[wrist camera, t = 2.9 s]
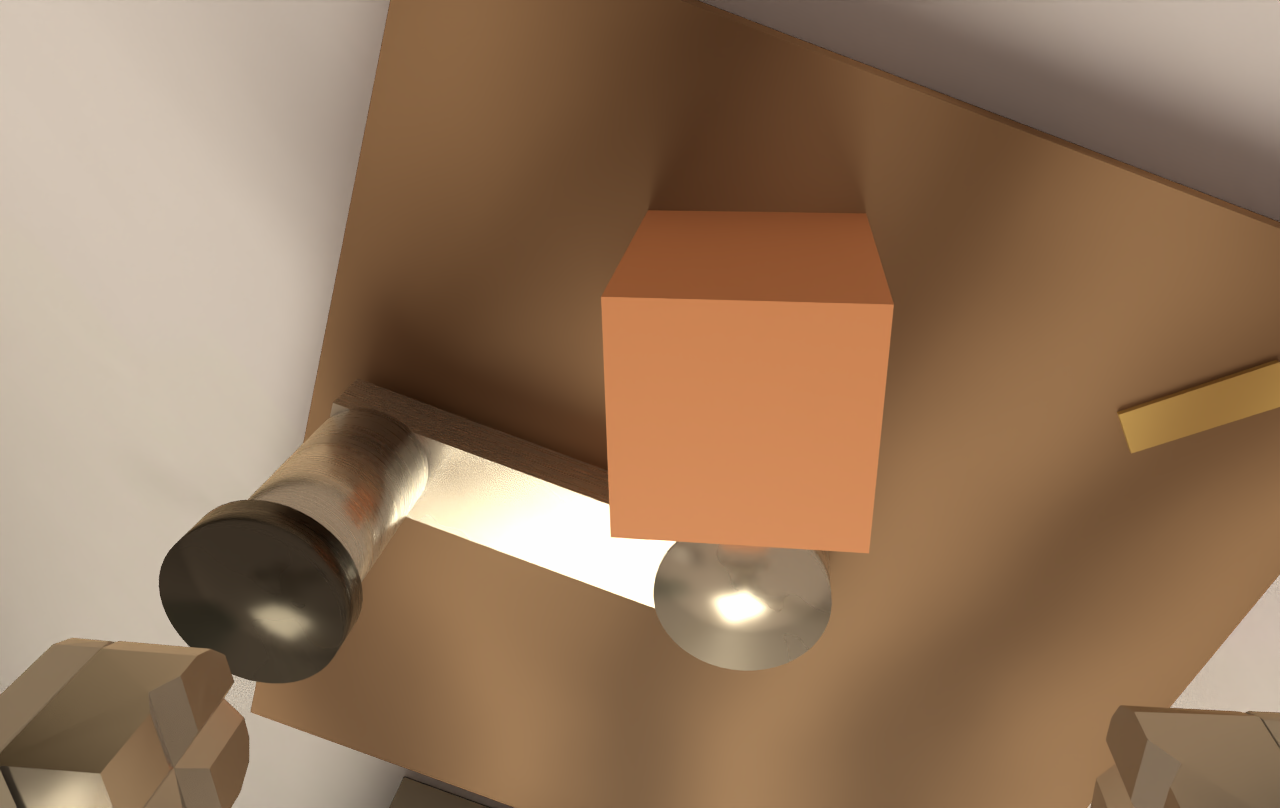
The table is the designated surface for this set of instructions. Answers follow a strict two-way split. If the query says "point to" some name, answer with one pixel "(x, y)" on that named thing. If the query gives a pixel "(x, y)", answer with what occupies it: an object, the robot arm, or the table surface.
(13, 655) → the table surface
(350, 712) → the plate
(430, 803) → the tray
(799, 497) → the orange block
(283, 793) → the table surface
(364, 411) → the crank
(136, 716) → the robot arm
